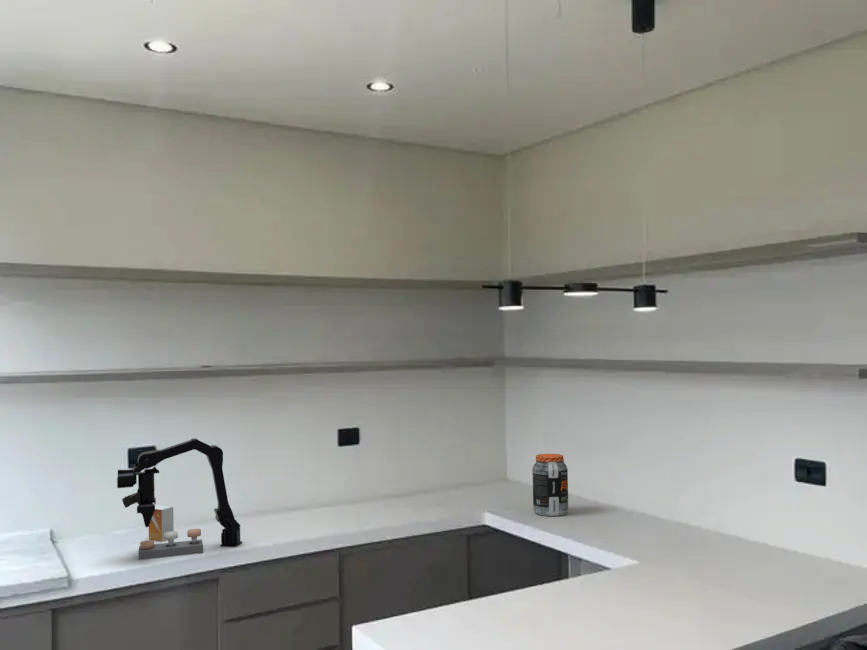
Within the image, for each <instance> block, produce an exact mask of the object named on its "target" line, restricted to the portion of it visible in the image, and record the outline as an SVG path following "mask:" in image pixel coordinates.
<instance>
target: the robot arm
mask: <svg viewBox="0 0 867 650" xmlns="http://www.w3.org/2000/svg"><path fill="white" fill-rule="evenodd" d="M193 450H194V451H198V452H200V453H201V454H202V455H205V456H206V459H207V461H208V463H209V466H210V468H211V471H212V472H211V473H212V478H213V483H214V489H215V495H216V501H217V508H213V511H214V513H215V520H216V522H217V523H219V525H221V526H222V527H223V528H222V530H221V535H220V539H221V540H220V541H221V542H220V547H237V546H239V545H241V544H242V543H243V540H241V524H240V523H239V521H238V520H237V519H235V515H234V512H233V510H232V508H231V505H230V503H229V498H228V493H227V488H226V481H225V476H224V471H223V464H224V463H223V462H224V451H223V449H221V447H219V446H217V445H215V444H212V445H209V444H207V443H205V442H204V441H201V440H199V439H197V437H195V438H194V437H193V438H191V439H189V440H186V441H183V442H180V443H177V444H174V445H171V446H168V447H164V448H162V449H154V450H148V451H143V452H140V453H139V455H138V457H137V462H136V463H135V464H134V465H133V467H132V468H129V469H117V477H116V488H117V489H124V488H125V489H126V488H134V486H135V485H137V484H138V485H137V487H138V489H137V491H136V492H135V493H132V494H129V495H126V496H125V497H123V498H122V499H121V501H122V503H123V506H124V508H125V509H126V508H129V507H131V506H132V505H135V504H137V506H136V513H137V514H141V515H142V519H143V523H144V527H145V528H149V524H150V521H151V519H152V516H153V514H154V512H155V506H156V504H157V503H156V502H157V500H156V496H155V489H156V488H155V474H160V470H159V469H157V468H156V465H158V464H159V463H161V462H163V461H165V460H167V459H170V458H172V457H175V456H179V455H181V454H185V453H188V452H190V451H193ZM137 478H138V479H137ZM137 481H138V482H137Z"/></svg>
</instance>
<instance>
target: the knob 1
mask: <svg viewBox="0 0 867 650" xmlns="http://www.w3.org/2000/svg"><path fill="white" fill-rule="evenodd" d="M154 544H155V540H152V539H148V540H143V541H140V543H139V546H140V548H141V549H150V548H153V547H154Z"/></svg>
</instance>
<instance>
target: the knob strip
mask: <svg viewBox="0 0 867 650" xmlns="http://www.w3.org/2000/svg"><path fill="white" fill-rule="evenodd" d="M195 553H197V554H203V553H204V543H203V539H197V544H192V539H190V540H183V541H174V546H170V547H168V542H164V543H162V542H161V543H154V547H153V548H150V549H141V548H140V545H139V547H138V553H137V554H138V555H137V556H138V557H137V559H138V561H142V560H149V559H158V558H160V559H161V558H167V557H177V556H187V555H194V554H195Z"/></svg>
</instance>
